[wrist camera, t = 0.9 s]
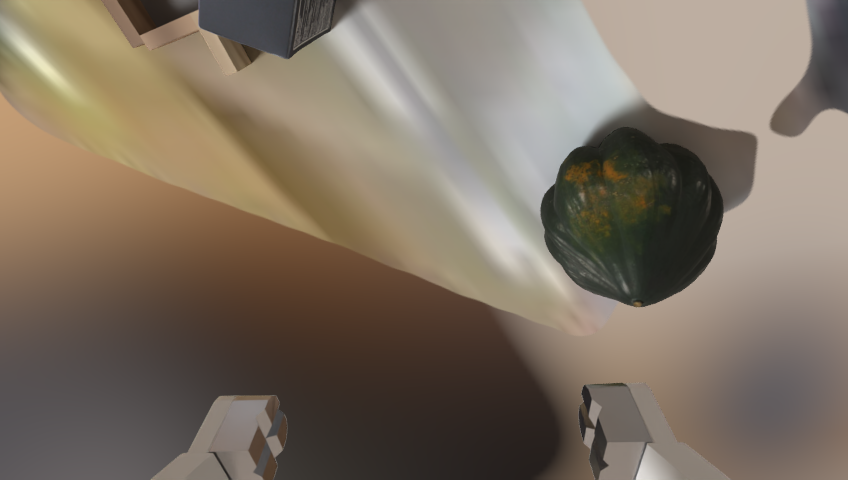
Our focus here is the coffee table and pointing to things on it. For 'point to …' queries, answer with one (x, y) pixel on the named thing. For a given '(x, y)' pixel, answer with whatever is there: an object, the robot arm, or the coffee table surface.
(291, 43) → the small box
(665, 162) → the squash
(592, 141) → the coffee table surface
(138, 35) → the trap lane
